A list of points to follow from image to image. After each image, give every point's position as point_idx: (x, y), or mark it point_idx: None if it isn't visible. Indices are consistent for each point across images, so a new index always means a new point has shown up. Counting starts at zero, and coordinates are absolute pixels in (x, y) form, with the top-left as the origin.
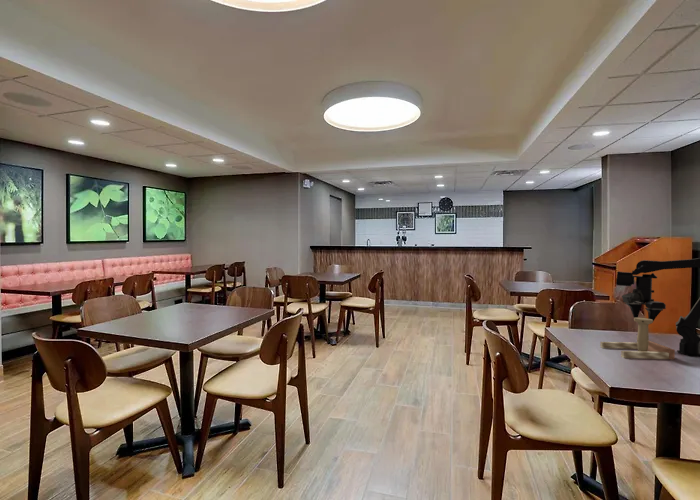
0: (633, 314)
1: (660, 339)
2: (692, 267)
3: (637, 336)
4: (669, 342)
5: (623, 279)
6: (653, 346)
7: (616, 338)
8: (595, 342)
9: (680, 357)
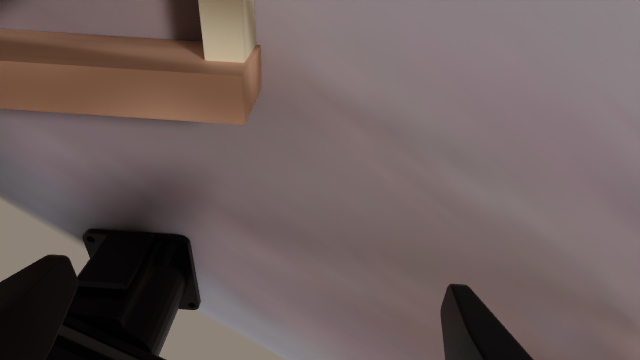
0: (497, 353)
1: None
2: None
3: None
4: (420, 345)
5: None
6: (62, 53)
7: (628, 67)
8: None
9: (31, 155)
